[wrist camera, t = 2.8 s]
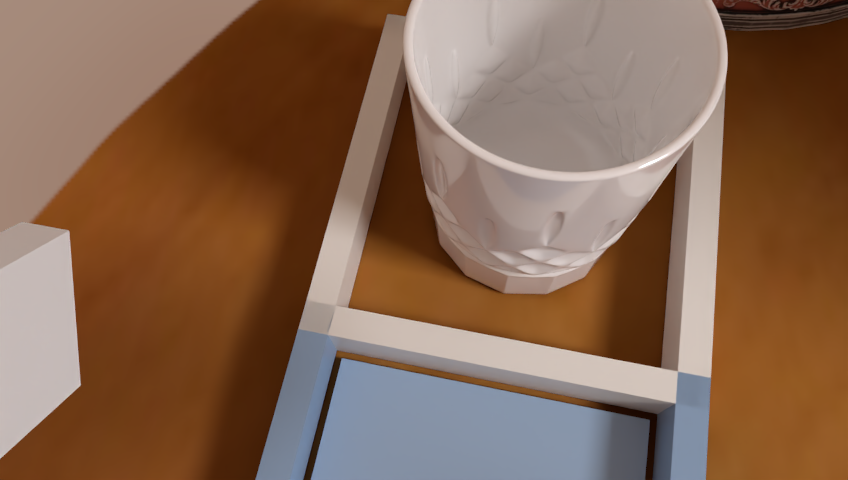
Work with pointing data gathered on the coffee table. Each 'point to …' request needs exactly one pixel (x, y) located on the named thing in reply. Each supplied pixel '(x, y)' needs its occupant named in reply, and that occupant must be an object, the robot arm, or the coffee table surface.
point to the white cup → (553, 123)
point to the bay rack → (490, 354)
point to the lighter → (778, 13)
